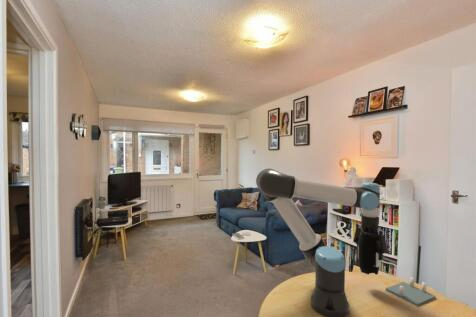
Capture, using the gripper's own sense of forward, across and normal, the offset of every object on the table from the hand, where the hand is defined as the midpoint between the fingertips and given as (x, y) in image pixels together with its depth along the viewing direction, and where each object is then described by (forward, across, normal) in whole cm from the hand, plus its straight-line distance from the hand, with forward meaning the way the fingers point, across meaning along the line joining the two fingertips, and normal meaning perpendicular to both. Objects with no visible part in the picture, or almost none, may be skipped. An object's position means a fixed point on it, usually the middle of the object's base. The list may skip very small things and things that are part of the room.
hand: (369, 262), depth 119 cm
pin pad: (+13, -11, -14) cm, 22 cm away
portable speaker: (+5, 0, 0) cm, 5 cm away
